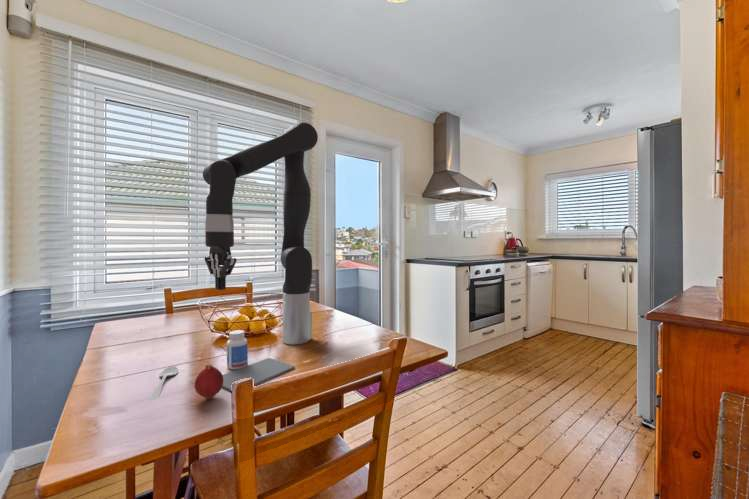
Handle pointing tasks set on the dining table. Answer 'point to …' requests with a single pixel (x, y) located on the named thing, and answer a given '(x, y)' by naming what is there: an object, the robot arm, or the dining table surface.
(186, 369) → the dining table surface
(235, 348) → the pill bottle
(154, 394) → the spoon
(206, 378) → the onion
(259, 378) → the mat
